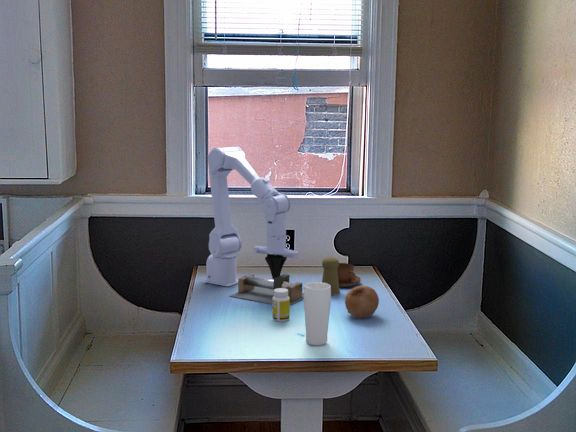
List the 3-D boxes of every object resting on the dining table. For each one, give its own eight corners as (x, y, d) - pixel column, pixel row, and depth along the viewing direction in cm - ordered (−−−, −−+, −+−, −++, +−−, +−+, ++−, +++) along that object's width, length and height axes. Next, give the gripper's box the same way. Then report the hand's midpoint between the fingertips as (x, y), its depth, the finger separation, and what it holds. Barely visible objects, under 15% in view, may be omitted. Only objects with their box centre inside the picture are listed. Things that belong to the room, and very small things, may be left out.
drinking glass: (301, 338, 187) (302, 282, 184) (328, 337, 188) (329, 281, 185) (304, 348, 180) (305, 289, 178) (331, 347, 181) (333, 289, 178)
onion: (358, 331, 202) (352, 304, 196) (342, 312, 209) (335, 286, 204) (387, 316, 204) (382, 289, 198) (370, 298, 212) (365, 272, 206)
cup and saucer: (366, 282, 239) (367, 264, 238) (349, 291, 229) (350, 272, 228) (334, 277, 245) (335, 259, 244) (316, 285, 235) (316, 267, 234)
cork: (340, 290, 230) (340, 256, 228) (339, 295, 224) (340, 260, 222) (320, 289, 230) (321, 255, 228) (319, 294, 225) (320, 260, 223)
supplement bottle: (291, 317, 203) (292, 288, 202) (286, 322, 199) (286, 293, 197) (275, 315, 205) (275, 286, 203) (269, 320, 200) (269, 291, 199)
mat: (229, 296, 222) (229, 295, 222) (254, 285, 234) (254, 284, 234) (286, 307, 212) (286, 306, 212) (309, 295, 224) (309, 294, 224)
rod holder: (238, 292, 225) (238, 277, 224) (249, 287, 230) (249, 272, 229) (291, 302, 216) (291, 286, 215) (302, 297, 221) (302, 281, 220)
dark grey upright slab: (273, 297, 219) (273, 278, 218) (283, 292, 224) (283, 273, 223) (279, 298, 218) (279, 279, 217) (289, 293, 223) (289, 274, 222)
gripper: (248, 234, 219) (248, 278, 221) (290, 240, 211) (290, 285, 214) (261, 230, 225) (261, 273, 227) (302, 235, 217) (301, 279, 220)
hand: (276, 278), depth 221 cm, fingers closed
